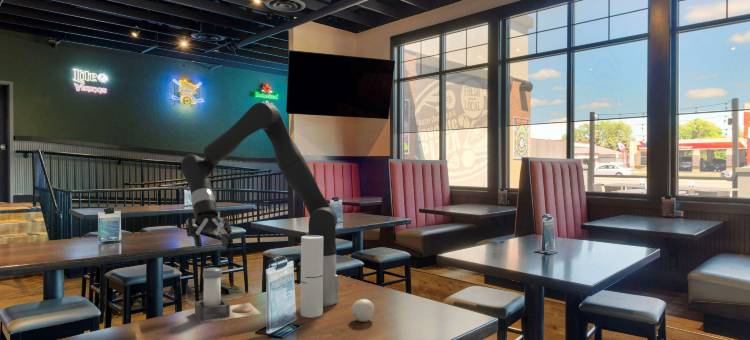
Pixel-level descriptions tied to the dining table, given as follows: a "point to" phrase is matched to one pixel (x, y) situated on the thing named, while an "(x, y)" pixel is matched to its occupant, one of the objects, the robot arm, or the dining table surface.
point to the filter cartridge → (212, 287)
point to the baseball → (362, 310)
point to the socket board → (223, 311)
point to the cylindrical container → (311, 276)
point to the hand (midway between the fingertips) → (212, 246)
